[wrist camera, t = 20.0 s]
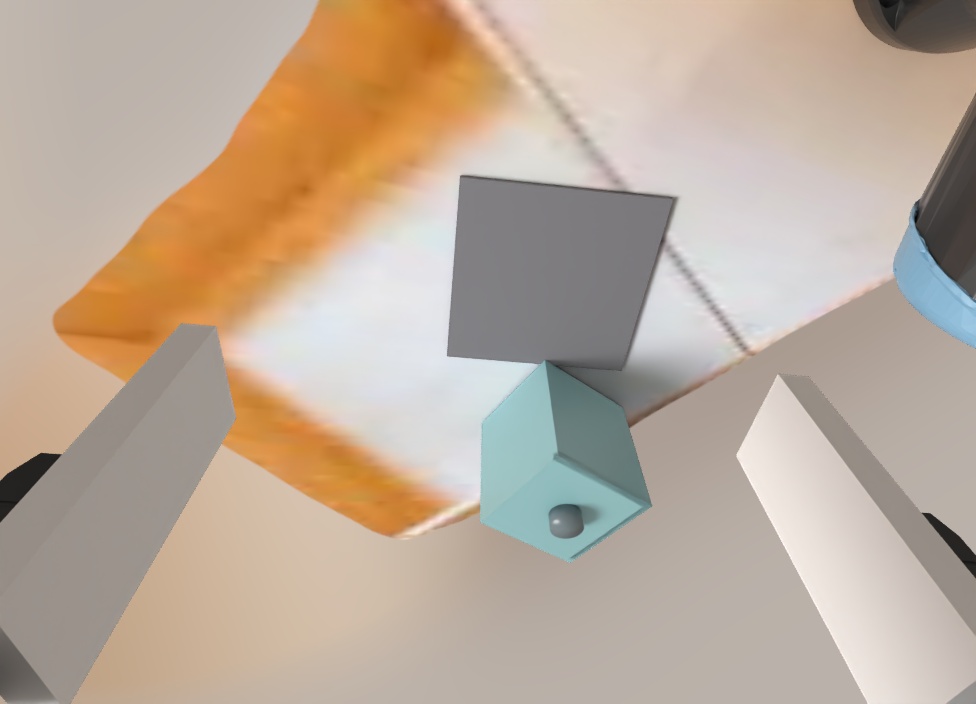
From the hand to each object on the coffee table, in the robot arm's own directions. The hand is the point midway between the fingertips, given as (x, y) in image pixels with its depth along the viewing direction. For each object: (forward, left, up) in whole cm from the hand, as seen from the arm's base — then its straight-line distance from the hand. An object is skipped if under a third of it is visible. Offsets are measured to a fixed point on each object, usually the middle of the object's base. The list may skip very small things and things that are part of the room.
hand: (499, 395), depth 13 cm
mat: (-7, +14, -35) cm, 38 cm away
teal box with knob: (-10, +30, -34) cm, 47 cm away
